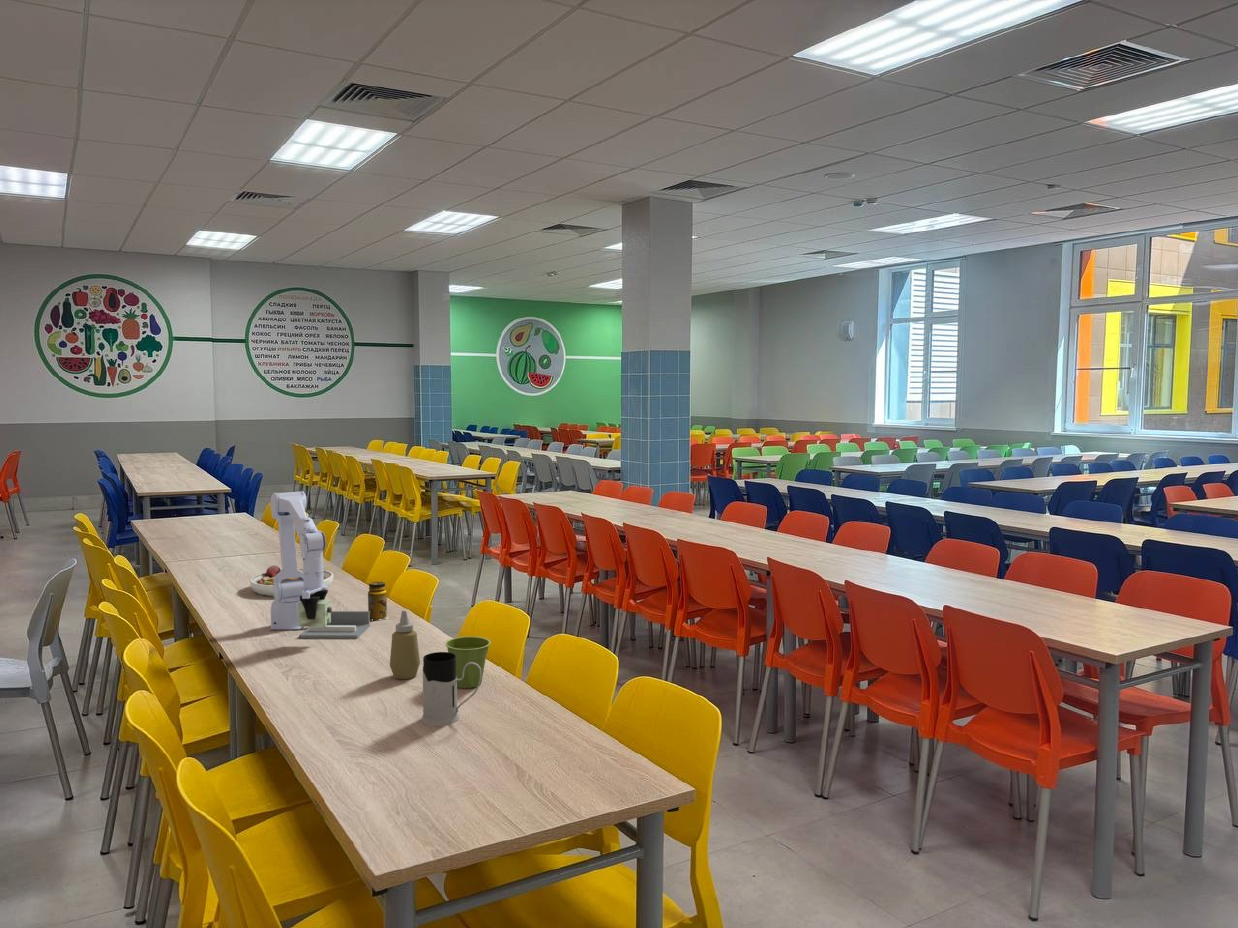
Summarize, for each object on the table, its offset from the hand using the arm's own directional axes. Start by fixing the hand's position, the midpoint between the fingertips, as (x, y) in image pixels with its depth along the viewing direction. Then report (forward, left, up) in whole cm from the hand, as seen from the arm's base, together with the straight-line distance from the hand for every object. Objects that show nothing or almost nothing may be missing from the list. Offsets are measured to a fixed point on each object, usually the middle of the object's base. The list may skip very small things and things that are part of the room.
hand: (314, 616), depth 260 cm
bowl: (-33, +72, -9) cm, 80 cm away
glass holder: (+52, -59, -9) cm, 79 cm away
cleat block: (0, 0, -2) cm, 2 cm away
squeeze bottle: (+34, -29, -9) cm, 46 cm away
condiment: (+10, +30, -9) cm, 33 cm away
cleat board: (+2, +13, -8) cm, 16 cm away
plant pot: (+52, -35, -9) cm, 63 cm away
